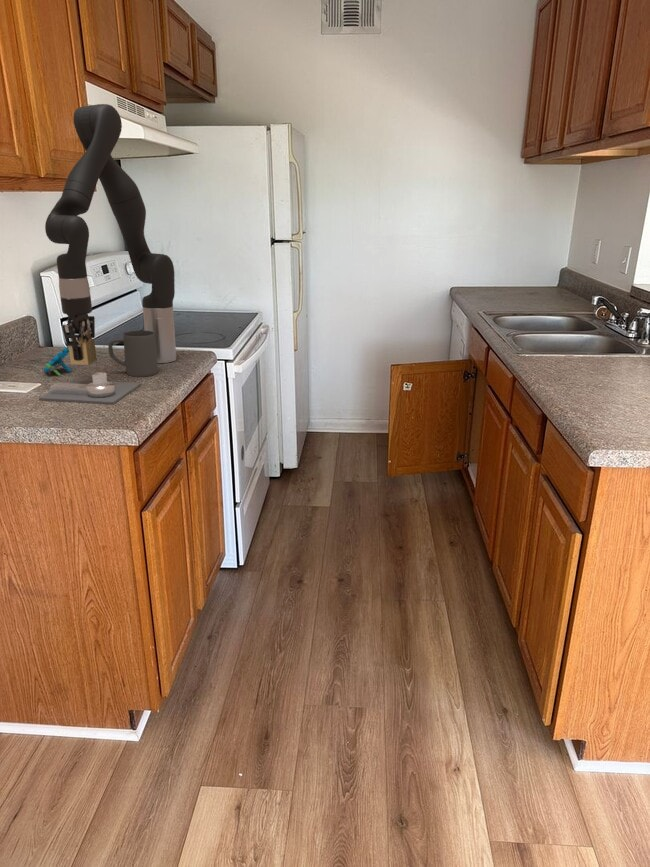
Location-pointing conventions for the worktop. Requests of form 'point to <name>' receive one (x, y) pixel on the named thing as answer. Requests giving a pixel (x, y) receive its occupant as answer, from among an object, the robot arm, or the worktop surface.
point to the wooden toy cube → (85, 352)
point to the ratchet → (87, 387)
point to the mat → (120, 392)
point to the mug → (138, 353)
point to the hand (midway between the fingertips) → (83, 357)
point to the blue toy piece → (58, 359)
